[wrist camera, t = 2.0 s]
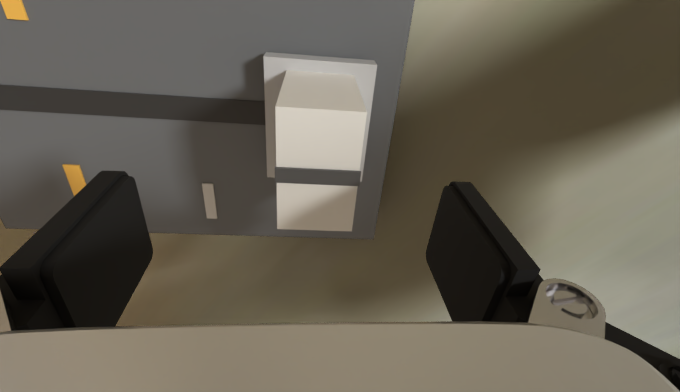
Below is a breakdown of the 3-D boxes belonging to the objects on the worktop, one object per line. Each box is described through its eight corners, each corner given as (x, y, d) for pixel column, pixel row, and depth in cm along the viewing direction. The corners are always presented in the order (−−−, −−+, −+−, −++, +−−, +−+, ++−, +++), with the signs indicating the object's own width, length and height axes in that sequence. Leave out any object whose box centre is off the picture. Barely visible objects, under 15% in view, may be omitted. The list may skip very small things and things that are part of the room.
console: (410, -62, 17) (426, -68, 14) (367, 212, 25) (373, 240, 23) (-102, -118, 15) (-191, -137, 12) (39, 200, 23) (4, 229, 21)
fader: (374, 60, 17) (399, 100, 11) (359, 172, 20) (374, 243, 15) (266, 52, 16) (242, 89, 11) (269, 168, 19) (252, 239, 14)
